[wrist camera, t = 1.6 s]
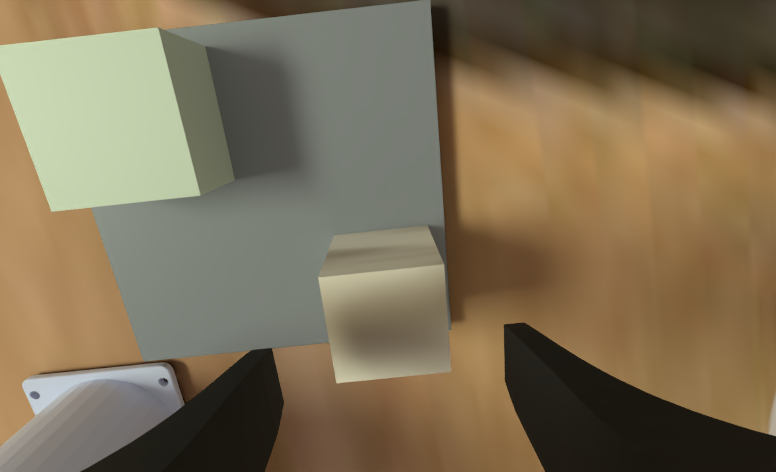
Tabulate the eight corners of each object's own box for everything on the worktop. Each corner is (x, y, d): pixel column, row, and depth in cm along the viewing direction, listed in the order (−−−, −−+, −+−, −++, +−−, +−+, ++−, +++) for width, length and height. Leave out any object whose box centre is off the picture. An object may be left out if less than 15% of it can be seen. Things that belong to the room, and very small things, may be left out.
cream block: (433, 308, 20) (451, 371, 15) (347, 318, 20) (336, 383, 15) (427, 225, 18) (443, 264, 13) (334, 235, 18) (318, 277, 14)
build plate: (449, 324, 20) (451, 330, 20) (150, 354, 21) (143, 361, 20) (428, 3, 16) (430, -1, 15) (47, 46, 16) (35, 44, 16)
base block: (235, 180, 17) (200, 195, 14) (114, 193, 18) (51, 211, 14) (205, 46, 16) (158, 27, 12) (72, 61, 16) (-10, 46, 13)
